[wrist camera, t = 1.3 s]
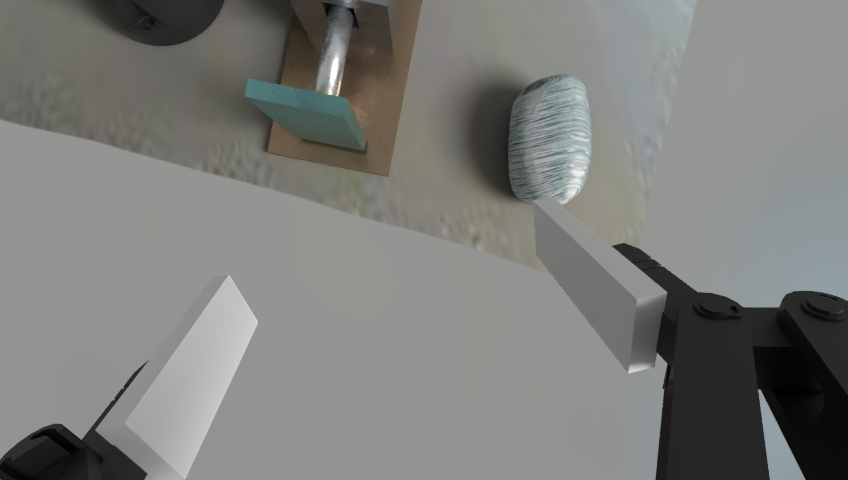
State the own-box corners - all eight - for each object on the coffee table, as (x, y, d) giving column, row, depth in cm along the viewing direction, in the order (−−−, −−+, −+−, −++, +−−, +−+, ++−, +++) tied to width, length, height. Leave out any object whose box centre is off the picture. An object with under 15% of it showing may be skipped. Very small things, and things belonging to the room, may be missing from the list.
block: (363, 151, 38) (343, 116, 27) (293, 137, 38) (244, 96, 27) (388, 24, 38) (377, -61, 27) (317, 9, 38) (278, -83, 27)
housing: (388, 176, 40) (380, 159, 31) (271, 153, 40) (229, 129, 31) (430, -47, 40) (435, -128, 31) (314, -73, 40) (285, -162, 31)
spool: (495, 71, 37) (569, 56, 29) (555, 90, 42) (635, 81, 34) (474, 194, 41) (534, 212, 32) (531, 199, 45) (598, 216, 37)
